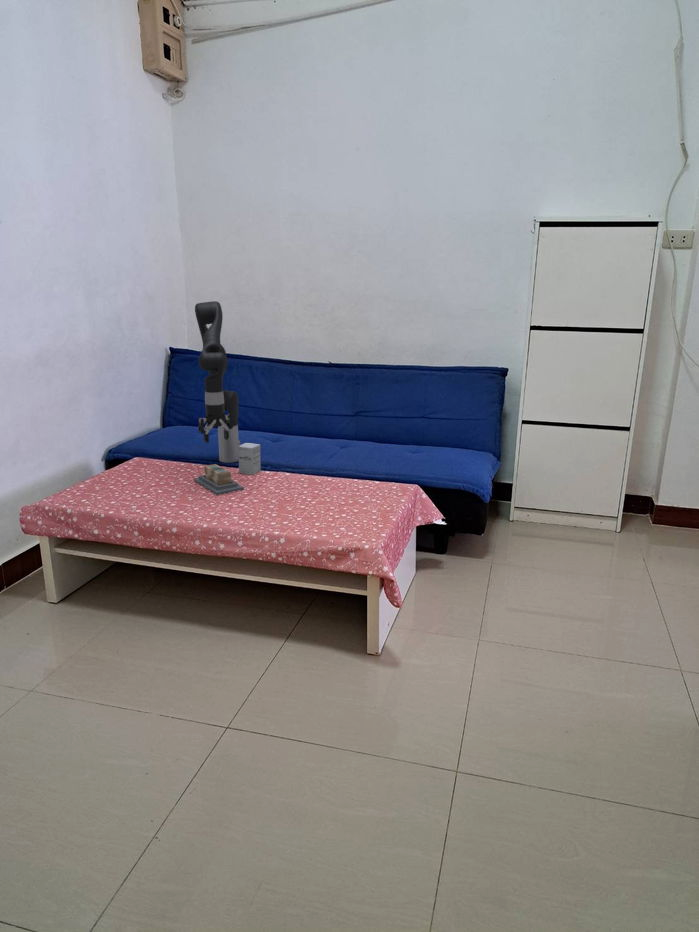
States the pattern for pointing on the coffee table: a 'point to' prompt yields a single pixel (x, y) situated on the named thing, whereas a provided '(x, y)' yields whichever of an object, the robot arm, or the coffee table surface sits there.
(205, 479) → the grey rectangular framed panel
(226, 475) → the oak frame
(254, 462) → the supplement box
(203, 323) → the robot arm
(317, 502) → the coffee table surface
